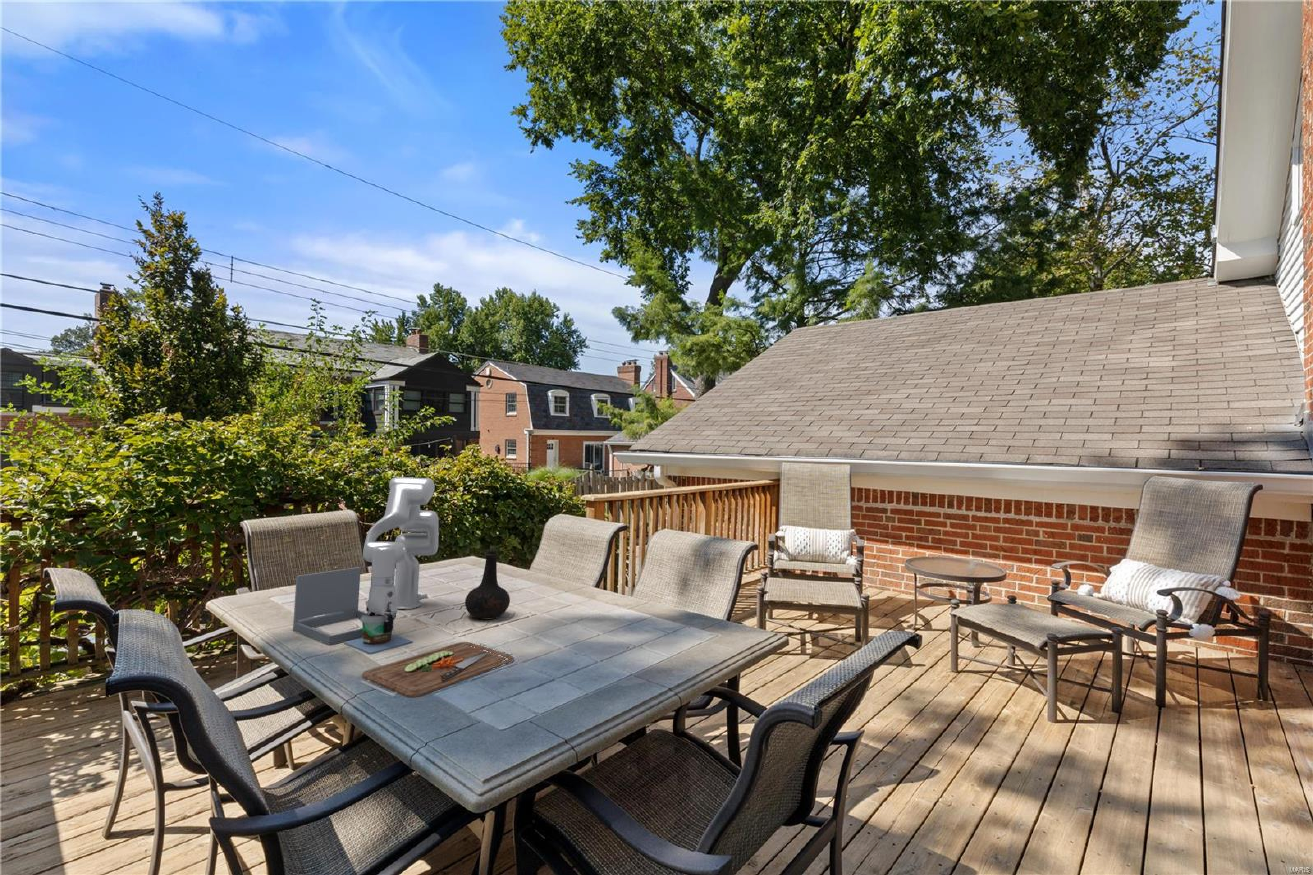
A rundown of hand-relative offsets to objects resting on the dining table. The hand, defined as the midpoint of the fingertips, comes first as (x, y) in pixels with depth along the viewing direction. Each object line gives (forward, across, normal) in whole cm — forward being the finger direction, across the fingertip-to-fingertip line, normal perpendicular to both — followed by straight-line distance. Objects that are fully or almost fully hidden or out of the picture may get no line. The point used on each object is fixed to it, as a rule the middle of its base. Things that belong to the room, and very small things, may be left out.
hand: (379, 629), depth 206 cm
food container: (+4, -1, 0) cm, 5 cm away
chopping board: (+6, -35, 0) cm, 35 cm away
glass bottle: (+5, -2, -47) cm, 47 cm away
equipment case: (+5, +22, 0) cm, 23 cm away
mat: (+5, 0, 0) cm, 5 cm away
